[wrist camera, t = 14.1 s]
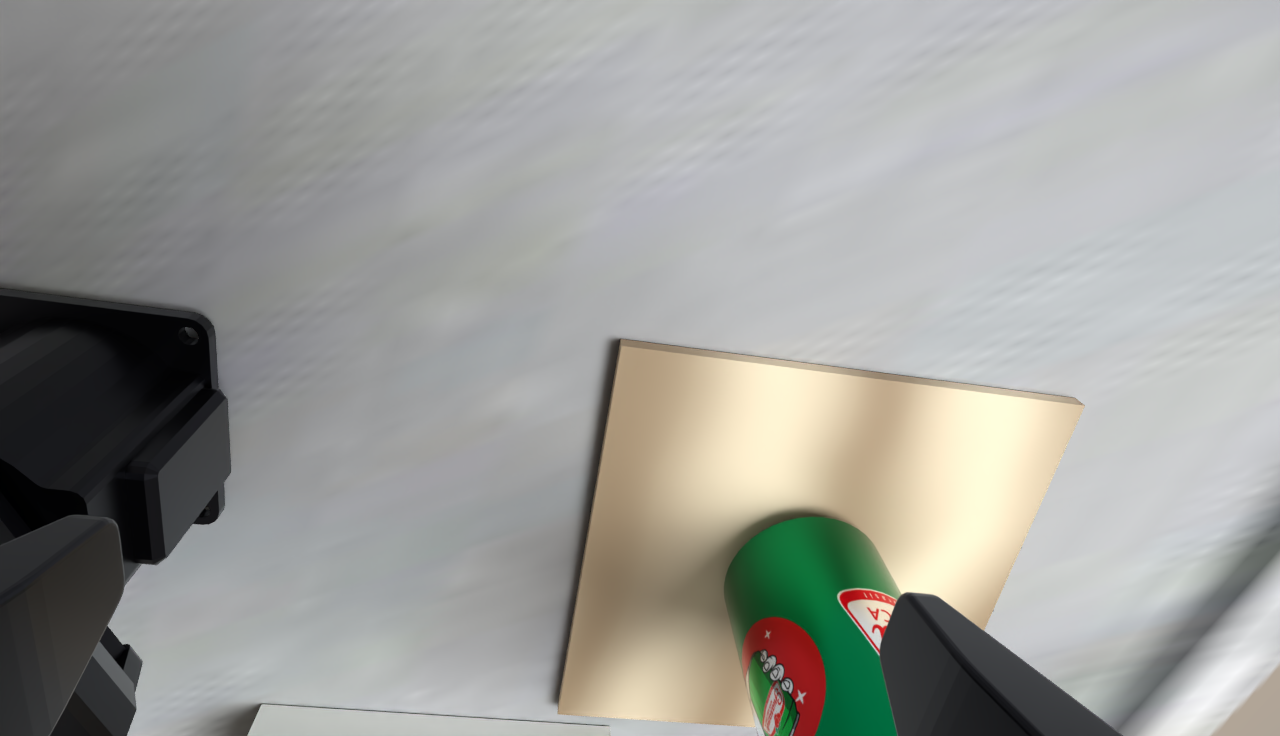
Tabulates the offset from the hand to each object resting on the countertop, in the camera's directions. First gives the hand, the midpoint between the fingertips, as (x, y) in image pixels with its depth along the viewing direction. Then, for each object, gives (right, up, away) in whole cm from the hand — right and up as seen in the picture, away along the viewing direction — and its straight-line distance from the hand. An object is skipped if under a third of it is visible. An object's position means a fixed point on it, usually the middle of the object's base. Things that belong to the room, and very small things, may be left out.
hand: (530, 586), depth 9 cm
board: (+6, -4, +17) cm, 18 cm away
